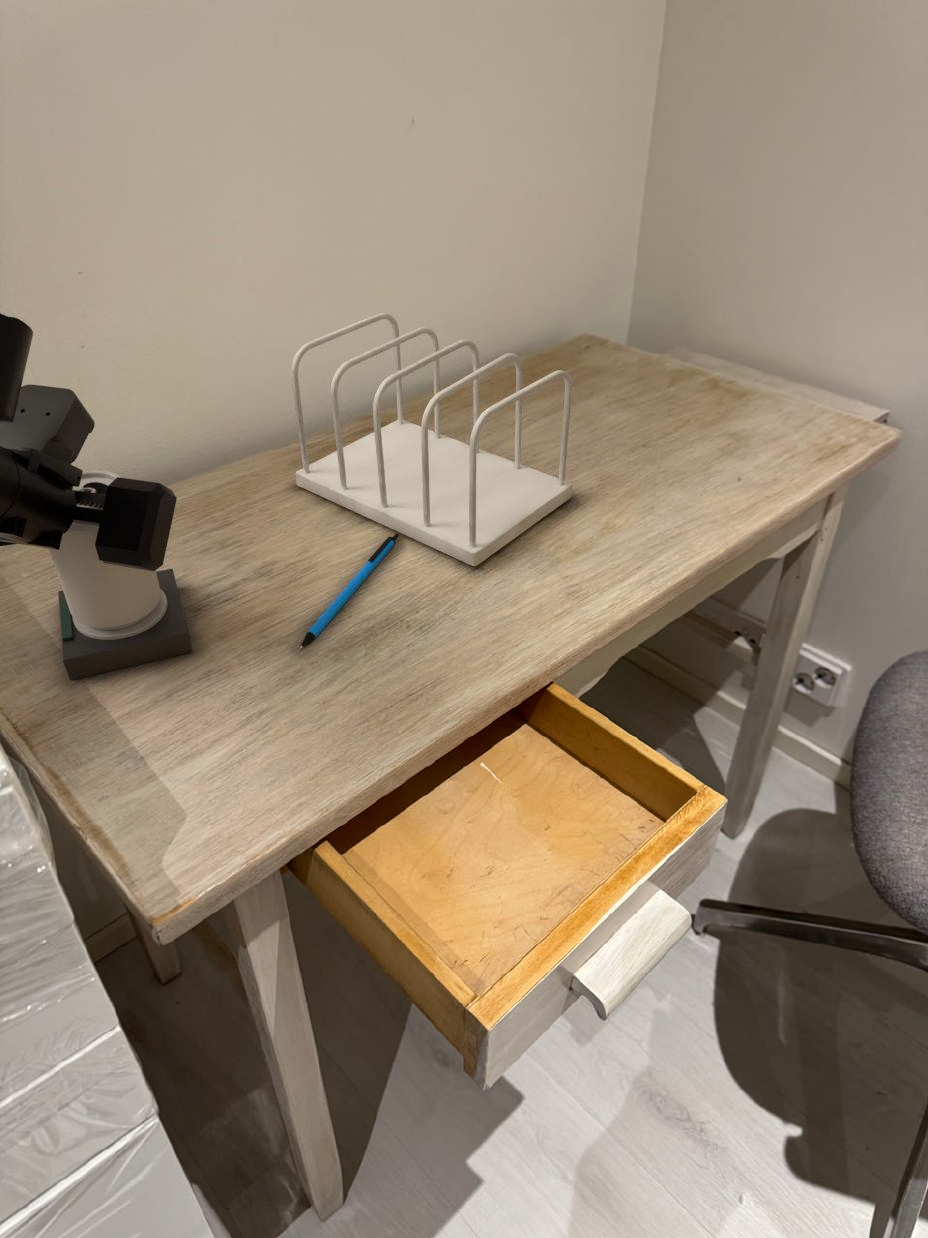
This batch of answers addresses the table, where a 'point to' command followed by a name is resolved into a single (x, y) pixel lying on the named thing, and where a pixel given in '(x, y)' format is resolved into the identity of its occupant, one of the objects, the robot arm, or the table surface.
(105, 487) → the can
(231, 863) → the table surface
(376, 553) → the pen
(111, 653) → the scale
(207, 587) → the table surface
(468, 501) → the file sorter
